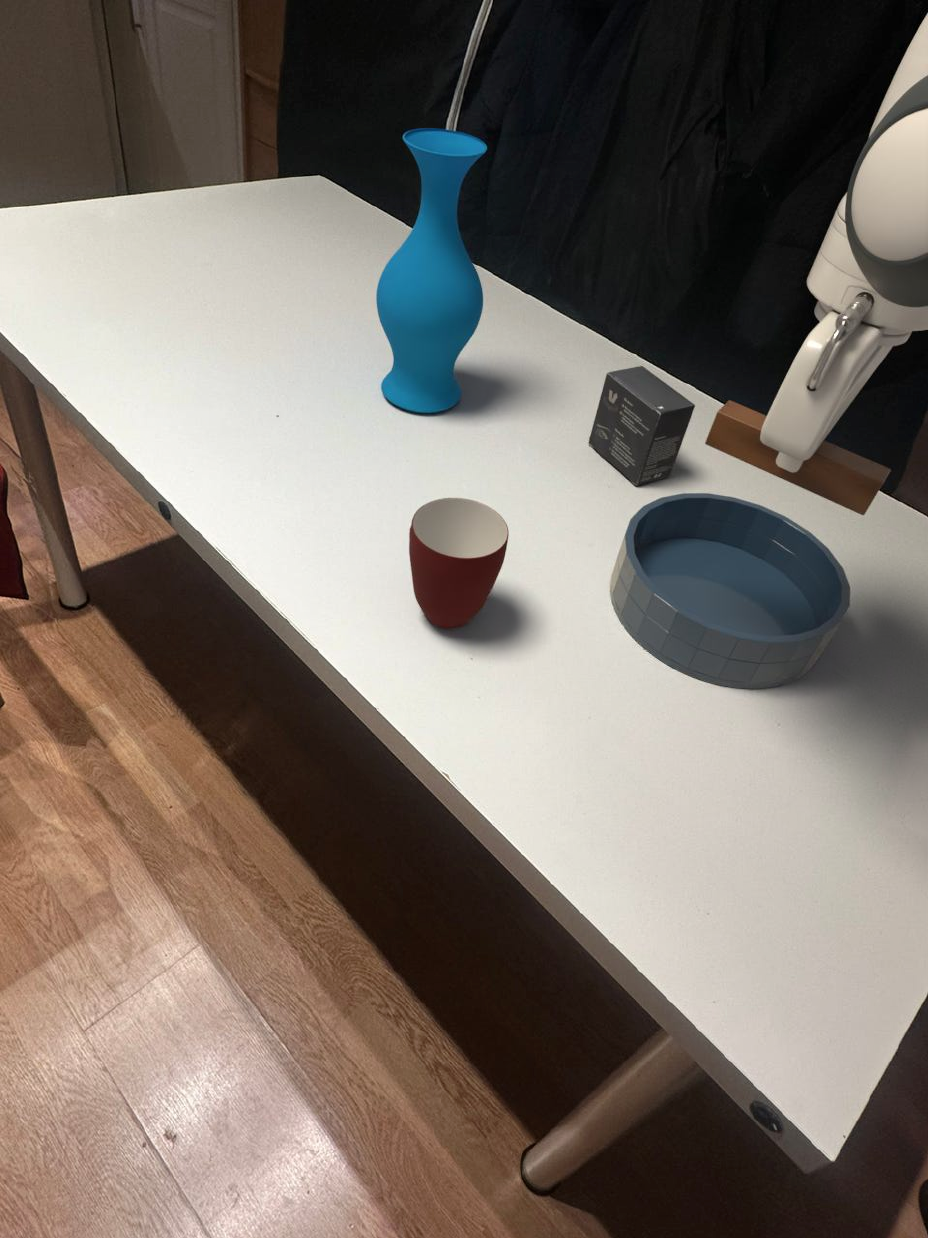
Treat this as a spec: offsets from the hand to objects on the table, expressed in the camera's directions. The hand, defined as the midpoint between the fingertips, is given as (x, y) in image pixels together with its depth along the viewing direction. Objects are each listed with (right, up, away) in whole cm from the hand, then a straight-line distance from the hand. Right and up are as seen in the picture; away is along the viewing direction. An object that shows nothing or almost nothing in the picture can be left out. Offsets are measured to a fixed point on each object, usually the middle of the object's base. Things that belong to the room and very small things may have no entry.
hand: (795, 455), depth 63 cm
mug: (-28, -11, +12) cm, 32 cm away
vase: (-31, +15, +39) cm, 52 cm away
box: (-6, +6, +33) cm, 35 cm away
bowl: (-1, -11, +16) cm, 20 cm away
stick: (0, -1, +1) cm, 2 cm away
